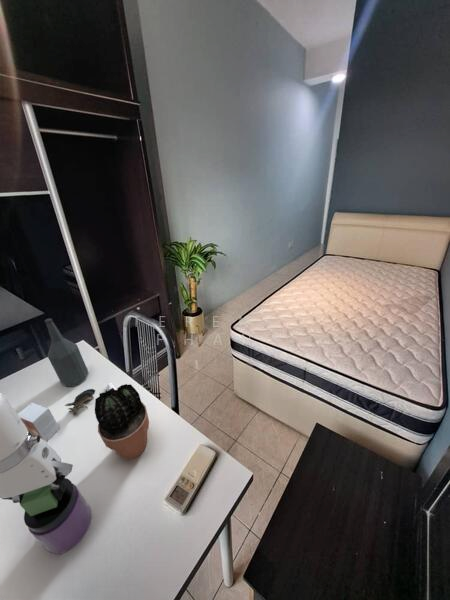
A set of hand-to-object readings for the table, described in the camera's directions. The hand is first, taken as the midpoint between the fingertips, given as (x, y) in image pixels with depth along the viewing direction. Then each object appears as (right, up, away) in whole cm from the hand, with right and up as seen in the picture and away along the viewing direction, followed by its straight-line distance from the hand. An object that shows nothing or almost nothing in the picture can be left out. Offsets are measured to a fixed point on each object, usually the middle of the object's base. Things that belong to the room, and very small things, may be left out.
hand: (46, 497), depth 54 cm
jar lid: (0, -2, +1) cm, 2 cm away
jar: (+1, -12, +7) cm, 14 cm away
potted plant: (+10, -3, +24) cm, 26 cm away
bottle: (-25, +10, +51) cm, 58 cm away
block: (0, 0, 0) cm, 0 cm away
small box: (-22, -2, +30) cm, 37 cm away
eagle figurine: (-14, +3, +38) cm, 41 cm away
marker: (-3, +6, +41) cm, 41 cm away
